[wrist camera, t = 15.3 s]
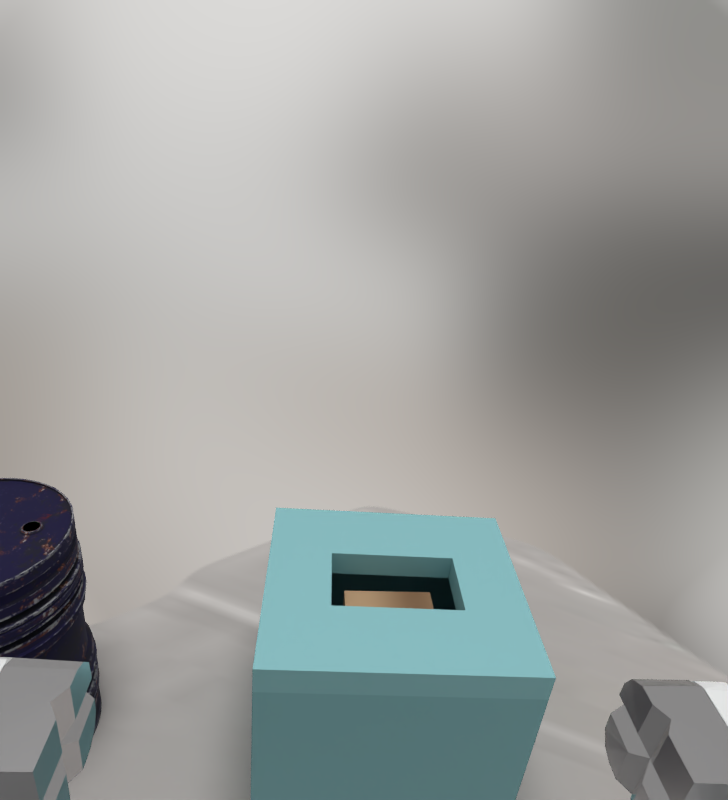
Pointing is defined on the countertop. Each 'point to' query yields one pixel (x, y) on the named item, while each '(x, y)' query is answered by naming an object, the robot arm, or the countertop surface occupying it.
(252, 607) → the countertop surface
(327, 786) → the money box
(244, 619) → the countertop surface
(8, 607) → the storage jar
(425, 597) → the block
